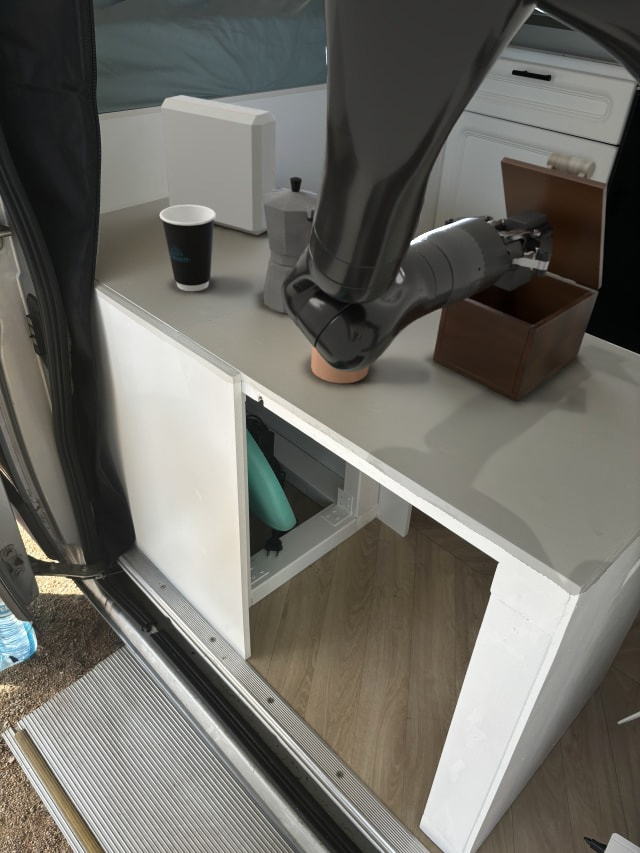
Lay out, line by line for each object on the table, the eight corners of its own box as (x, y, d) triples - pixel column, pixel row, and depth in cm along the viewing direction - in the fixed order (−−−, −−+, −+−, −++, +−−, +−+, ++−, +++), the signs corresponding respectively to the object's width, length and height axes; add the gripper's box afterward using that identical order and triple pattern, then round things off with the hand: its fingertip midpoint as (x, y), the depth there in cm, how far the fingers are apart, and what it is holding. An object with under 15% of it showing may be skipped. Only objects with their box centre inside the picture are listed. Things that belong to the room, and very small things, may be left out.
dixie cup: (219, 274, 104) (216, 204, 97) (218, 296, 98) (214, 223, 91) (168, 273, 103) (162, 203, 97) (164, 295, 97) (156, 222, 90)
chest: (516, 401, 79) (536, 329, 73) (432, 360, 86) (444, 291, 80) (576, 358, 88) (598, 291, 82) (496, 324, 95) (512, 260, 89)
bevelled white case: (281, 226, 122) (283, 110, 110) (257, 239, 117) (256, 118, 105) (193, 203, 130) (185, 92, 118) (166, 213, 125) (155, 98, 113)
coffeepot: (245, 288, 100) (243, 167, 89) (299, 278, 104) (303, 160, 93) (291, 333, 90) (295, 201, 79) (349, 320, 94) (360, 193, 83)
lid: (603, 188, 69) (630, 154, 70) (500, 160, 75) (526, 130, 76) (598, 290, 82) (620, 260, 83) (511, 259, 89) (533, 232, 90)
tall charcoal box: (532, 280, 79) (549, 214, 74) (509, 291, 76) (526, 223, 71) (514, 273, 80) (530, 208, 75) (491, 284, 77) (507, 217, 72)
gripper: (519, 250, 60) (603, 212, 70) (401, 208, 67) (492, 180, 77) (501, 323, 64) (582, 277, 74) (392, 277, 72) (480, 241, 82)
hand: (536, 228), depth 76 cm, fingers closed on tall charcoal box, 2 cm apart
